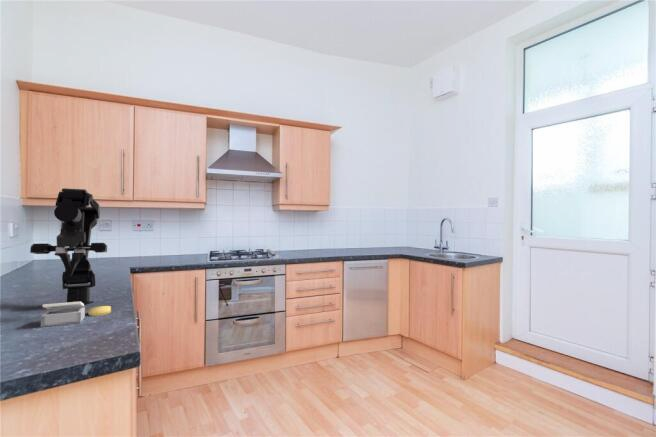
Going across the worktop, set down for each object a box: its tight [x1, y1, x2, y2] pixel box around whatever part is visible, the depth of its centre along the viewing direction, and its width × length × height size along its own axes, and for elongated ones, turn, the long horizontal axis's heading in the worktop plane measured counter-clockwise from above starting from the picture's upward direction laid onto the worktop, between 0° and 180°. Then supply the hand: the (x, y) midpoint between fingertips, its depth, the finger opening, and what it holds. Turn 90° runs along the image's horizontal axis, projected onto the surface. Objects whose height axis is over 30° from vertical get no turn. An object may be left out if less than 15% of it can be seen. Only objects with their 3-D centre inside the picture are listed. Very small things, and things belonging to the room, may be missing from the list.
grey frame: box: [40, 306, 86, 328], centre depth 97 cm, size 7×9×3 cm
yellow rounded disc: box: [88, 305, 112, 317], centre depth 107 cm, size 6×6×2 cm
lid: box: [42, 301, 85, 310], centre depth 98 cm, size 7×9×1 cm
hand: (69, 275), depth 103 cm, fingers closed
